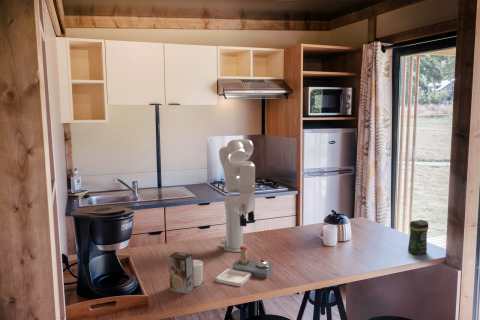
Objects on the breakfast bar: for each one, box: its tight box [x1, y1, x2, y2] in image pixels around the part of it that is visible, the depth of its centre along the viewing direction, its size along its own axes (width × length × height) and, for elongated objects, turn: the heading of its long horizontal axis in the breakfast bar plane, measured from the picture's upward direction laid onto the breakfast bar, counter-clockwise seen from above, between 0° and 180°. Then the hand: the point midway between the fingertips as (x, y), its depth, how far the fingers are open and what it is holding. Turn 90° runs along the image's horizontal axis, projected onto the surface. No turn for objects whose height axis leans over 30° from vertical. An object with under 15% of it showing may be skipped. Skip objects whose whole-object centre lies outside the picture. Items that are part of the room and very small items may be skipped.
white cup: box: [193, 259, 204, 288], centre depth 187 cm, size 8×8×10 cm
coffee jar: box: [407, 219, 429, 255], centre depth 227 cm, size 10×8×19 cm
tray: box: [214, 268, 253, 288], centre depth 191 cm, size 13×13×2 cm
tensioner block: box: [232, 258, 274, 279], centre depth 198 cm, size 18×8×8 cm, turn 65°
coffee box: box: [168, 251, 194, 295], centre depth 180 cm, size 9×6×16 cm
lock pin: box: [239, 245, 248, 265], centre depth 200 cm, size 3×3×12 cm
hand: (247, 223), depth 198 cm, fingers open, 9 cm apart
